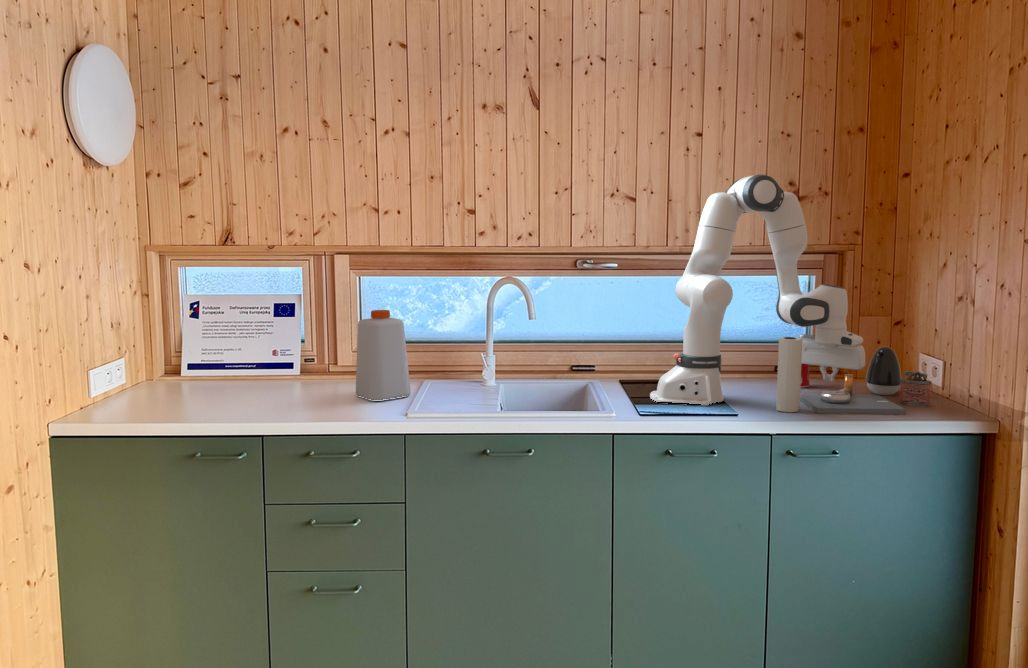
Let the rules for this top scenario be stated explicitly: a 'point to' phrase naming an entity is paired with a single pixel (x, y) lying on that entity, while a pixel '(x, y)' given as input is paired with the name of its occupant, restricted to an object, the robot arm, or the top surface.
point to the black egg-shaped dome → (884, 372)
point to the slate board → (853, 405)
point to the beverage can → (804, 375)
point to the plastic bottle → (381, 358)
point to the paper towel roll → (789, 374)
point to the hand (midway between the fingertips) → (828, 380)
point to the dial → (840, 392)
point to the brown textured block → (915, 390)
